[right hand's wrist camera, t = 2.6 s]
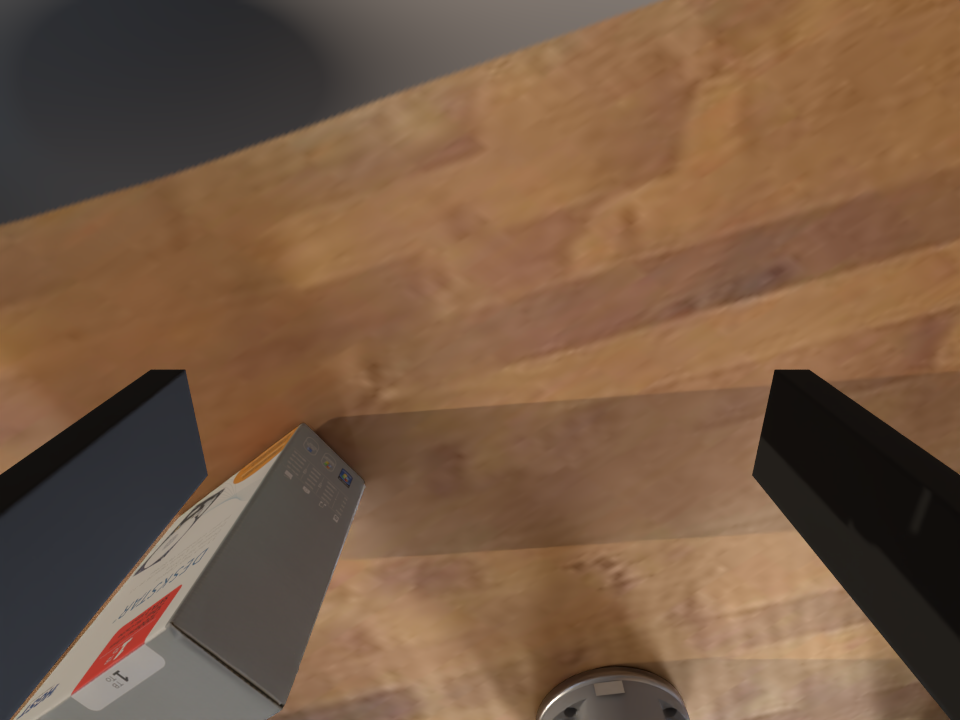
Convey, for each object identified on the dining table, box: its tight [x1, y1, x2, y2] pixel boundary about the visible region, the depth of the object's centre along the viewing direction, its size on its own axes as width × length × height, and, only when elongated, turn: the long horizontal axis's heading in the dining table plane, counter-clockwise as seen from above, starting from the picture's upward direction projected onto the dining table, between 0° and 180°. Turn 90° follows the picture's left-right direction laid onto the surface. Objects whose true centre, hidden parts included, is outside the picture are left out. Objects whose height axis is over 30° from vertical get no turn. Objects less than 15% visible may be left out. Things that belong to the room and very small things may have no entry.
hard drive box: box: [14, 423, 365, 720], centre depth 37 cm, size 16×8×20 cm, turn 128°
